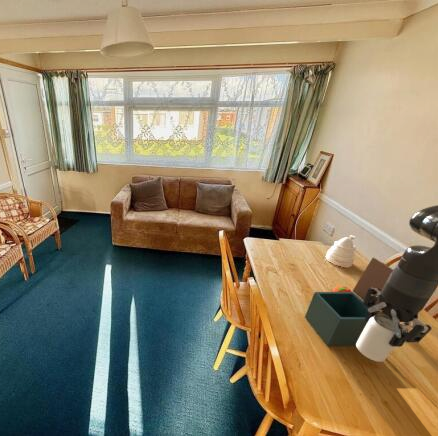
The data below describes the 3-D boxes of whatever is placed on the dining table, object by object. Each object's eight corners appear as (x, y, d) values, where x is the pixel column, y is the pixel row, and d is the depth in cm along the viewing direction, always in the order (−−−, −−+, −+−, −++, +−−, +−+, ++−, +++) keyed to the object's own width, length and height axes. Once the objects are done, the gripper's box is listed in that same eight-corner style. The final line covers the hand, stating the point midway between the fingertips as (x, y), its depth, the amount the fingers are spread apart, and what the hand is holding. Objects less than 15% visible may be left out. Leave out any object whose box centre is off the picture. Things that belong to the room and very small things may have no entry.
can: (391, 364, 63) (412, 334, 58) (365, 360, 64) (382, 330, 59) (374, 343, 69) (391, 314, 64) (350, 340, 70) (365, 311, 65)
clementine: (338, 305, 108) (344, 293, 105) (326, 294, 114) (330, 283, 111) (353, 303, 109) (359, 291, 106) (339, 292, 115) (345, 281, 112)
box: (327, 346, 88) (340, 319, 82) (304, 316, 101) (314, 291, 95) (368, 346, 88) (384, 319, 82) (340, 317, 101) (352, 291, 95)
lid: (410, 281, 75) (412, 282, 75) (372, 257, 88) (374, 257, 88) (384, 318, 82) (386, 318, 82) (352, 291, 95) (354, 291, 95)
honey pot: (344, 257, 144) (355, 232, 136) (356, 269, 132) (368, 242, 125) (321, 254, 146) (330, 229, 139) (331, 266, 135) (342, 240, 128)
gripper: (460, 308, 50) (422, 358, 57) (394, 268, 63) (370, 312, 70) (426, 309, 50) (393, 358, 57) (367, 268, 63) (346, 313, 70)
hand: (380, 333), depth 63 cm, fingers closed on can, 6 cm apart
